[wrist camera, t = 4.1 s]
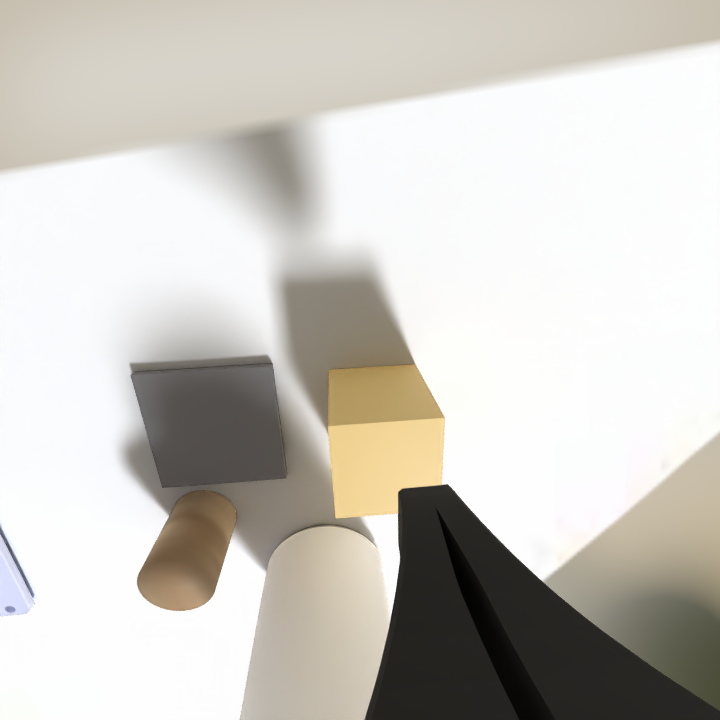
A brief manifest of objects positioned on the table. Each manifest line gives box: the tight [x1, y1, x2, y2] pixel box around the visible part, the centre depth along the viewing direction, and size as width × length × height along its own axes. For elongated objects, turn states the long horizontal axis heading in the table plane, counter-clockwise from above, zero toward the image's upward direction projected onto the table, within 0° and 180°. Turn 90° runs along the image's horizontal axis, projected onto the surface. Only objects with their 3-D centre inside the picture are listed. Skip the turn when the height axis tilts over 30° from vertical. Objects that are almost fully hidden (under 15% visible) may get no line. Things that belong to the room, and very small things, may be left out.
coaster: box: [131, 363, 287, 488], centre depth 18 cm, size 6×6×1 cm
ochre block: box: [328, 364, 445, 518], centre depth 16 cm, size 4×4×5 cm
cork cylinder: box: [137, 491, 237, 611], centre depth 18 cm, size 3×3×4 cm
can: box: [240, 525, 391, 720], centre depth 16 cm, size 6×6×12 cm
